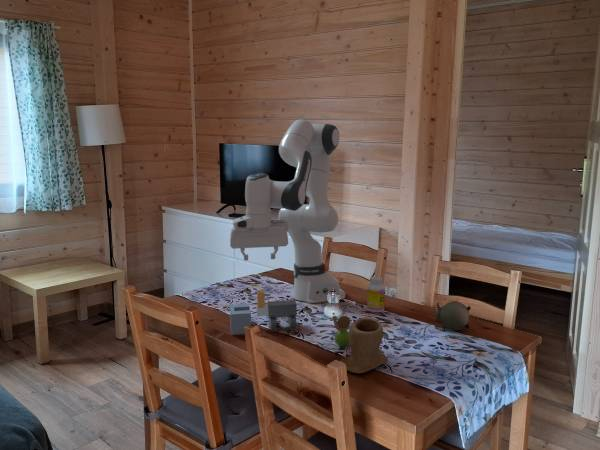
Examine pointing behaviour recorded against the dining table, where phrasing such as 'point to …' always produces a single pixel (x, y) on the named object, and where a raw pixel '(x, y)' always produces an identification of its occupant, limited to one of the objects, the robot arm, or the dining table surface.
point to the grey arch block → (282, 313)
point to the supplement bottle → (376, 295)
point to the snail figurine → (342, 330)
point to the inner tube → (261, 304)
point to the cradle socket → (239, 318)
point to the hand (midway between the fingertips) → (259, 259)
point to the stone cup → (365, 346)
